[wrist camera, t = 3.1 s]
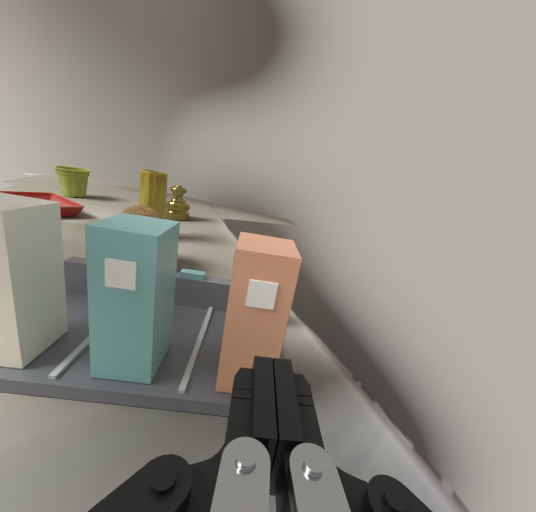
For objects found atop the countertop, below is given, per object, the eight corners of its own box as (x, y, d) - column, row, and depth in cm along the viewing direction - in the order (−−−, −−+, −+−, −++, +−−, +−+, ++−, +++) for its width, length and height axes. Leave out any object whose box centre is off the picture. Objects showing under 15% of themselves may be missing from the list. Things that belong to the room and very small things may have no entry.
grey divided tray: (277, 421, 21) (291, 365, 19) (-66, 384, 19) (-83, 318, 17) (270, 319, 35) (278, 282, 34) (74, 292, 33) (71, 251, 32)
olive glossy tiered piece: (192, 218, 85) (195, 187, 82) (182, 222, 78) (185, 187, 75) (171, 214, 86) (173, 182, 83) (158, 217, 79) (160, 183, 76)
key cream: (20, 370, 20) (-1, 212, 16) (-45, 363, 20) (-81, 199, 16) (68, 330, 25) (59, 202, 21) (17, 324, 24) (-1, 192, 21)
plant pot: (79, 200, 82) (78, 171, 79) (47, 195, 81) (45, 165, 79) (97, 197, 91) (96, 171, 88) (68, 192, 90) (67, 165, 88)
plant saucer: (53, 203, 74) (52, 191, 73) (86, 219, 66) (86, 205, 65) (-45, 204, 59) (-48, 189, 58) (-18, 224, 51) (-20, 206, 50)
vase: (142, 231, 63) (144, 168, 58) (169, 235, 64) (172, 173, 59) (131, 237, 57) (133, 168, 53) (161, 242, 58) (165, 174, 53)
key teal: (149, 385, 21) (156, 237, 17) (89, 378, 20) (83, 225, 17) (170, 344, 25) (179, 222, 22) (122, 337, 25) (123, 212, 22)
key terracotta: (270, 399, 21) (302, 259, 18) (214, 392, 21) (235, 249, 17) (268, 356, 26) (293, 240, 23) (223, 350, 26) (240, 231, 22)
